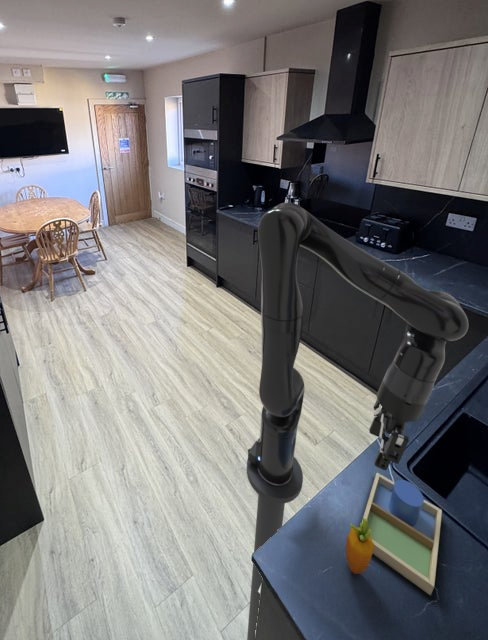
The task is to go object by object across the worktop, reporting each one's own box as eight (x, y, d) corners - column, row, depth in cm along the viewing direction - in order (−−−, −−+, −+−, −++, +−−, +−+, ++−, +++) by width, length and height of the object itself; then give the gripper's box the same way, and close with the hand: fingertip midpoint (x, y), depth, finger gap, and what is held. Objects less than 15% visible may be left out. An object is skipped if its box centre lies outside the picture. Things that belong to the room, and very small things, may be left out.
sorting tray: (356, 542, 74) (358, 533, 73) (374, 480, 87) (376, 472, 86) (430, 596, 65) (434, 586, 64) (439, 518, 78) (442, 510, 77)
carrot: (355, 592, 66) (367, 546, 61) (335, 564, 70) (345, 518, 65) (372, 579, 68) (384, 533, 63) (352, 552, 72) (362, 507, 67)
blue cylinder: (386, 513, 79) (391, 494, 76) (391, 493, 83) (396, 474, 81) (415, 532, 75) (422, 512, 73) (419, 510, 79) (425, 491, 77)
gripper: (378, 360, 70) (354, 417, 75) (390, 404, 58) (360, 469, 62) (417, 374, 68) (390, 432, 73) (439, 423, 55) (404, 489, 60)
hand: (376, 449), depth 67 cm, fingers open, 8 cm apart
